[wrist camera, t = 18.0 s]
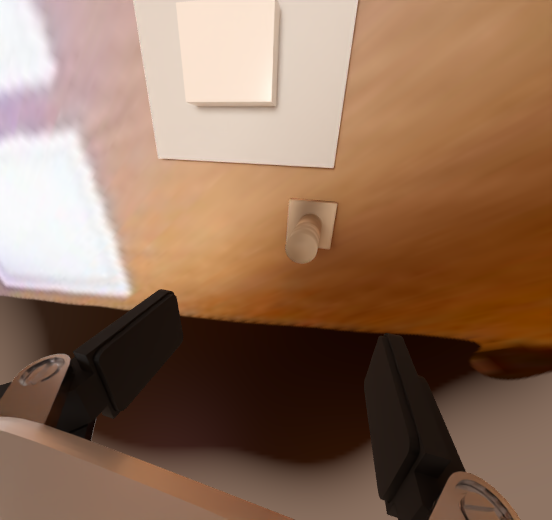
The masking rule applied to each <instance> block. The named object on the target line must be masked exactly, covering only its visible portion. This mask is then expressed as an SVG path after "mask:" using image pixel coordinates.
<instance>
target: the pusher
mask: <svg viewBox="0 0 552 520" xmlns="http://www.w3.org/2000/svg"><path fill="white" fill-rule="evenodd" d="M336 209H337V202H331V201H320V200H308V199H296V198H291V199H289V208H288V222H287V236H286V245H285V251H286V254H287V256H288V257H289V258H290V259H291V260H292V261H294V262H296V263H301V264H303V263H308V262H310V261H311V260H313V259H314V257H315V256H316V254H317V249H318V248H323V249H330V245H331V239H332V233H333V227H334V221H335V215H336Z"/></svg>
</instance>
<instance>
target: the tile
mask: <svg viewBox="0 0 552 520" xmlns="http://www.w3.org/2000/svg"><path fill="white" fill-rule="evenodd" d="M176 10H177V20H178V30H179V40H180V49H181V59H182V69H183V79H184V89H185V98H186V102H187V103H190V104H192V105H194V106H276V95H277V70H278V45H279V20H280V5H279V2H278V0H195V1H186V2H176Z"/></svg>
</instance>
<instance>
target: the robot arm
mask: <svg viewBox="0 0 552 520" xmlns="http://www.w3.org/2000/svg"><path fill="white" fill-rule="evenodd" d="M182 341H183V332H182V326H181V321H180V315H179V309H178V303H177V298H176V296H175V295H174V293H173V292H172V291H167V290H162V289H161V290H158V291H157V292H155V293H154V294H152V295H151V296H150V297H148V298H147V299H145V300H144V301H143V302H141V303H140V304H138V305H137V306H136V307H134V308H133V309H132V310H130V311H129V312H127V313H126V314H125V315H123V316H122V317H120V318H119V319H118V320H116V321H115V322H113V323H112V324H111V325H109V326H108V327H106V328H105V329H104V330H102V331H101V332H100V333H98V334H97V335H95V336H94V337H93V338H91V339H90V340H88V341H87V342H86V343H84V344H83V345H81V346H80V347H79V348H77V349H76V350H74V351H73V353H74V355H75V357H74V358H73V359H72V360H71V359H70V358H69V356H67V355H65V354H56V355H50V356H47V357H44V358H42V359H39V360H37V361H35V362H33V363H32V364H30V365H28V366H27V367H25V368H24V369H23V370H22V371H20V372H19V373H18V374H17V375H16V377H15V378H14V379H13V381H12V382H10V383H7V384H3V385H0V520H294V519H292V518H289V517H287V516H284V515H281V514H279V513H276V512H274V511H271V510H269V509H266V508H264V507H261V506H258V505H256V504H253V503H251V502H248V501H246V500H243V499H241V498H238V497H235V496H233V495H230V494H228V493H225V492H223V491H220V490H217V489H215V488H212V487H210V486H207V485H204V484H202V483H199V482H197V481H194V480H191V479H189V478H186V477H184V476H181V475H178V474H176V473H173V472H171V471H168V470H165V469H163V468H160V467H158V466H155V465H152V464H150V463H147V462H145V461H142V460H139V459H137V458H134V457H131V456H129V455H126V454H123V453H120V452H118V451H115V450H113V449H110V448H107V447H105V446H102V445H99V444H97V443H94V442H92V441H91V438H92V434H93V430H94V425H95V421H96V417H97V416H98V415H99V414H100V413H101V412H102V414H103V415H104V416H107V417H110V418H113V419H114V418H115V417H116V416H117V415H118V414H119V412H120V411H122V410H124V409H125V408H127V406H128V405H129V404H130V403H131V402H132V401H133V400H134V398H135V397H136V396H137V395H138V394H139V392H140V391H141V390H142V389H143V388H144V387H145V385H146V384H147V383H148V382H149V381H150V380H151V378H152V377H153V376H154V375H155V374H156V373H157V371H158V370H159V369H160V368H161V367H162V366H163V364H164V363H165V362H166V361H167V359H168V358H169V357H170V356H171V355H172V354H173V353H174V351H175V350H176V349H177V348H178V347H179V346H180V344H181V343H182ZM364 391H365V399H366V406H367V413H368V421H369V428H370V435H371V443H372V450H373V458H374V465H375V472H376V480H377V487H378V493H379V497H380V499H382V500H385V504H386V511H387V514H388V515H391V516H394V517H397V518H398V520H520V518H519V517H518V515H517V513H516V512H515V511H514V509H513V508H512V507H511V506H510V504H509V503H508V502H507V500H506V499H505V498H503V496H502V495H501V494H500V493H498V491H497V490H495V488H494V487H492V486H491V485H489V484H488V483H487V482H485V481H484V480H483V479H481V478H479V477H477V476H475V475H473V474H471V473H467V472H466V471H465V469H464V467H463V464H462V462H461V460H460V457H459V455H458V453H457V450H456V448H455V446H454V443H453V441H452V439H451V436H450V434H449V432H448V430H447V427H446V425H445V422H444V420H443V418H442V415H441V413H440V411H439V408H438V406H437V404H436V401H435V399H434V397H433V394H432V392H431V390H430V387H429V385H428V383H427V381H426V379H425V378H424V377H422V376H418V375H417V372H416V370H415V367H414V365H413V362H412V360H411V357H410V355H409V352H408V350H407V347H406V345H405V342H404V340H403V338H402V336H399V335H394V334H389V333H385V334H384V336H379V338H378V341H377V344H376V347H375V350H374V353H373V356H372V360H371V362H370V366H369V369H368V372H367V375H366V378H365V382H364Z"/></svg>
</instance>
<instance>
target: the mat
mask: <svg viewBox="0 0 552 520" xmlns="http://www.w3.org/2000/svg"><path fill="white" fill-rule="evenodd" d="M186 1H195V0H133V4H134V10H135V16H136V23H137V29H138V35H139V41H140V48H141V54H142V60H143V66H144V73H145V79H146V85H147V91H148V98H149V104H150V110H151V116H152V123H153V129H154V135H155V141H156V148H157V154H158V158H162V159H179V160H197V161H215V162H233V163H251V164H269V165H287V166H305V167H323V168H334V162H335V155H336V148H337V142H338V135H339V128H340V121H341V114H342V107H343V100H344V94H345V87H346V80H347V73H348V66H349V59H350V53H351V46H352V39H353V32H354V25H355V18H356V12H357V5H358V0H278V2H279V5H280V20H279V45H278V70H277V95H276V106H194V105H192V104H190V103H187V102H186V98H185V89H184V79H183V69H182V59H181V49H180V40H179V30H178V20H177V10H176V2H186Z"/></svg>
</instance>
